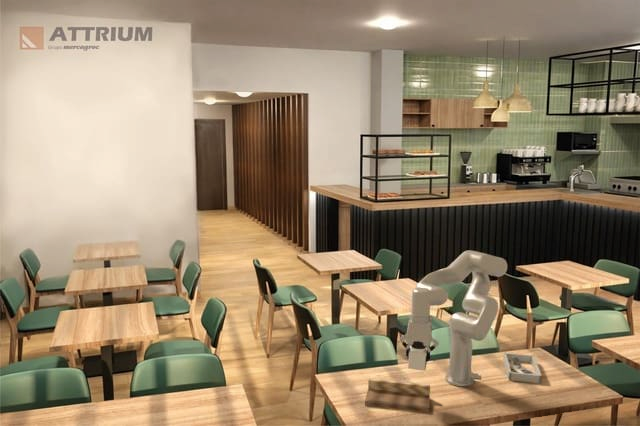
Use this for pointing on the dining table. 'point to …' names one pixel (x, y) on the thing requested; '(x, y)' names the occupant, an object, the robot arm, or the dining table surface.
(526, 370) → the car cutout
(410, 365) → the medicine bottle
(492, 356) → the dining table surface
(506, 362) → the grey tray
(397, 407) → the board
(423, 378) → the dining table surface
